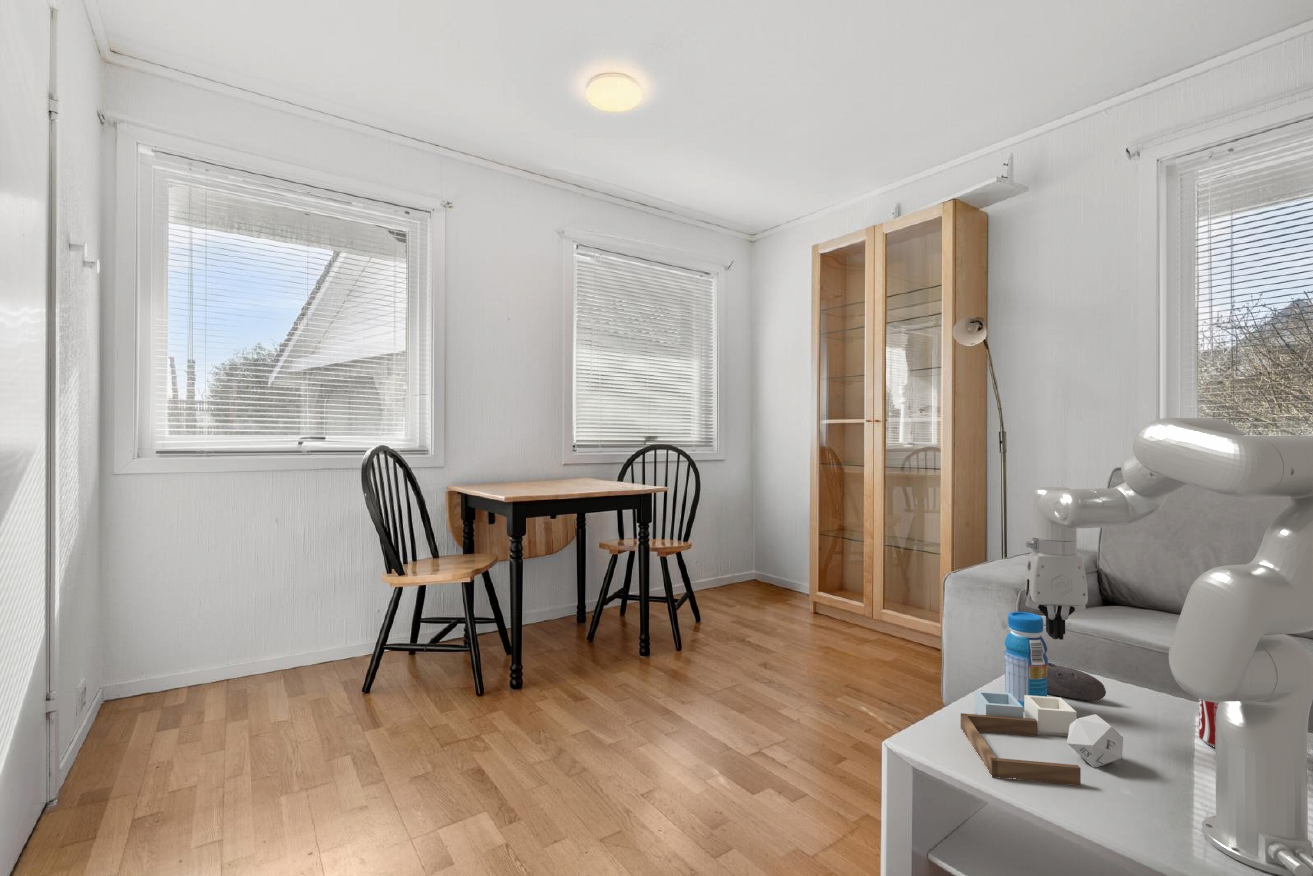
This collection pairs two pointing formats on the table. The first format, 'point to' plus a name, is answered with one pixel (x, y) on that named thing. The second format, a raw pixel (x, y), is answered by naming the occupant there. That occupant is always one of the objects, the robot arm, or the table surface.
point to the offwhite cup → (1049, 714)
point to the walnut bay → (1012, 766)
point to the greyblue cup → (997, 704)
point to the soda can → (1207, 721)
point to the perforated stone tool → (1073, 683)
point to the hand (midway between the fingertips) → (1055, 637)
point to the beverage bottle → (1025, 657)
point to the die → (1095, 740)
